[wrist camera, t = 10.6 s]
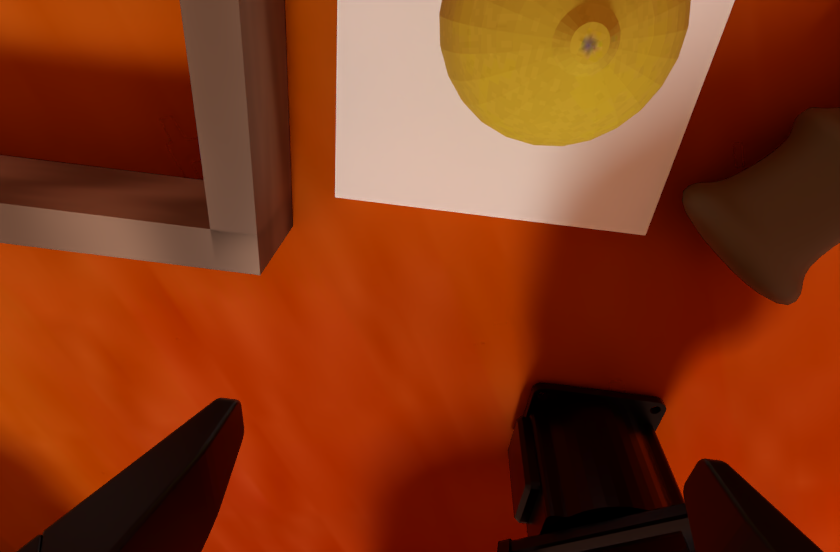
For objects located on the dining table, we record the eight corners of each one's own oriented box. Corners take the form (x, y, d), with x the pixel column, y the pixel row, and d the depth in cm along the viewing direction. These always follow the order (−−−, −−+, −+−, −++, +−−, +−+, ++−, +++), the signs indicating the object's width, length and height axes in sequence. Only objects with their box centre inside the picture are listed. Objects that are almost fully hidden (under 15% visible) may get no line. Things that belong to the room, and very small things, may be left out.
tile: (820, -274, 13) (846, -292, 12) (637, 224, 20) (645, 235, 19) (349, -328, 13) (341, -350, 12) (340, 187, 20) (335, 197, 19)
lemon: (435, -84, 14) (414, -134, 8) (634, -112, 14) (808, -195, 7) (450, 112, 17) (445, 204, 10) (616, 96, 17) (728, 182, 10)
